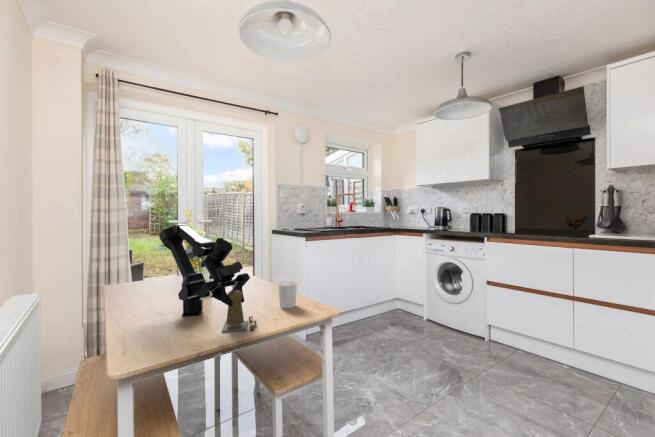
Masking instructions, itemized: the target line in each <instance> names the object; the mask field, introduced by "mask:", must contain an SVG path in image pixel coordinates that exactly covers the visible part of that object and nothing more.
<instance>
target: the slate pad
mask: <svg viewBox="0 0 655 437" xmlns="http://www.w3.org/2000/svg"><path fill="white" fill-rule="evenodd" d="M248 323H249V320H244V322H243V323H241V324H238V325H228V324H227V323H226V321H225V322H224V324H223V326H222V329H221V334H222V333H223V334H224V333H236V332H247V329H248Z"/></svg>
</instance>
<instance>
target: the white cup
mask: <svg viewBox="0 0 655 437" xmlns="http://www.w3.org/2000/svg"><path fill="white" fill-rule="evenodd" d="M277 285H278V286H277V287H278V298H279V307H280V308H281V309H286V310H287V309H293V308H295V307H296V306H297V305H296V304H297V302H296V301H297V291H298V288H297V286H298V282H296V281H293V280H287V281H286V280H283V281H280V282H278V284H277Z"/></svg>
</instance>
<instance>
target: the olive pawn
mask: <svg viewBox="0 0 655 437" xmlns="http://www.w3.org/2000/svg"><path fill="white" fill-rule="evenodd" d="M227 295H228V296H229V298H230V300H231V302H232V304H233V305H232V307H230V306H228V305H227V307H228V308H227V313H226V321H225V322H226V323H227V324H228V325H238V324H241V323H243V322H244V321H245V318H244V312H243V306H242V304H243V303H242V302H241V299H242V297H243V296H244V293H243V294H242V292H241V291H239V290H234V291H231V290H229V292H227Z"/></svg>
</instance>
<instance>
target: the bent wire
mask: <svg viewBox="0 0 655 437" xmlns="http://www.w3.org/2000/svg"><path fill="white" fill-rule="evenodd" d="M248 323H250V325H249V331H250V332H252V331H254V330H255V328H256V326H257V320H255V319H254V317H253V316H252V315H250V316H248Z"/></svg>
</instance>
